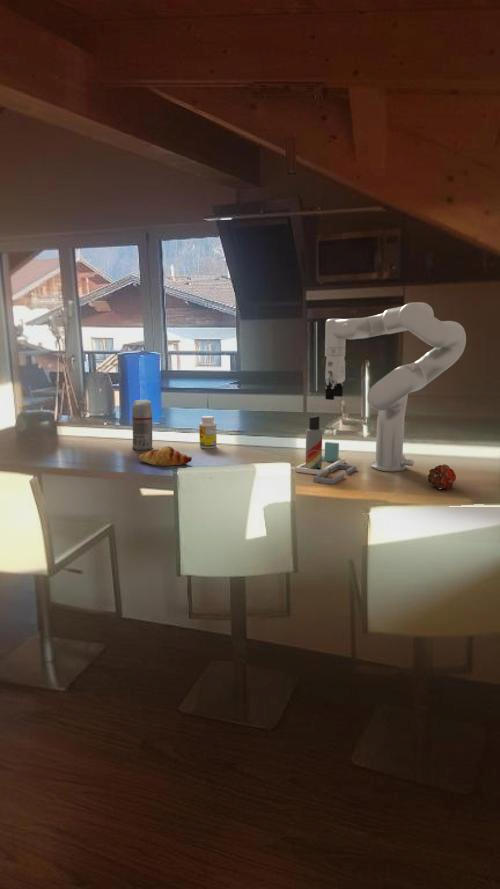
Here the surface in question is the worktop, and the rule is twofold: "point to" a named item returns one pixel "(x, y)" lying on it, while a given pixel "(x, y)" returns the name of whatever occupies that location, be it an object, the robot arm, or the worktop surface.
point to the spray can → (142, 424)
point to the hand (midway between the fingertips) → (334, 397)
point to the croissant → (165, 457)
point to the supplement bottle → (207, 432)
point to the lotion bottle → (314, 444)
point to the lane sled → (330, 455)
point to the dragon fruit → (442, 476)
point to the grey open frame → (332, 481)
